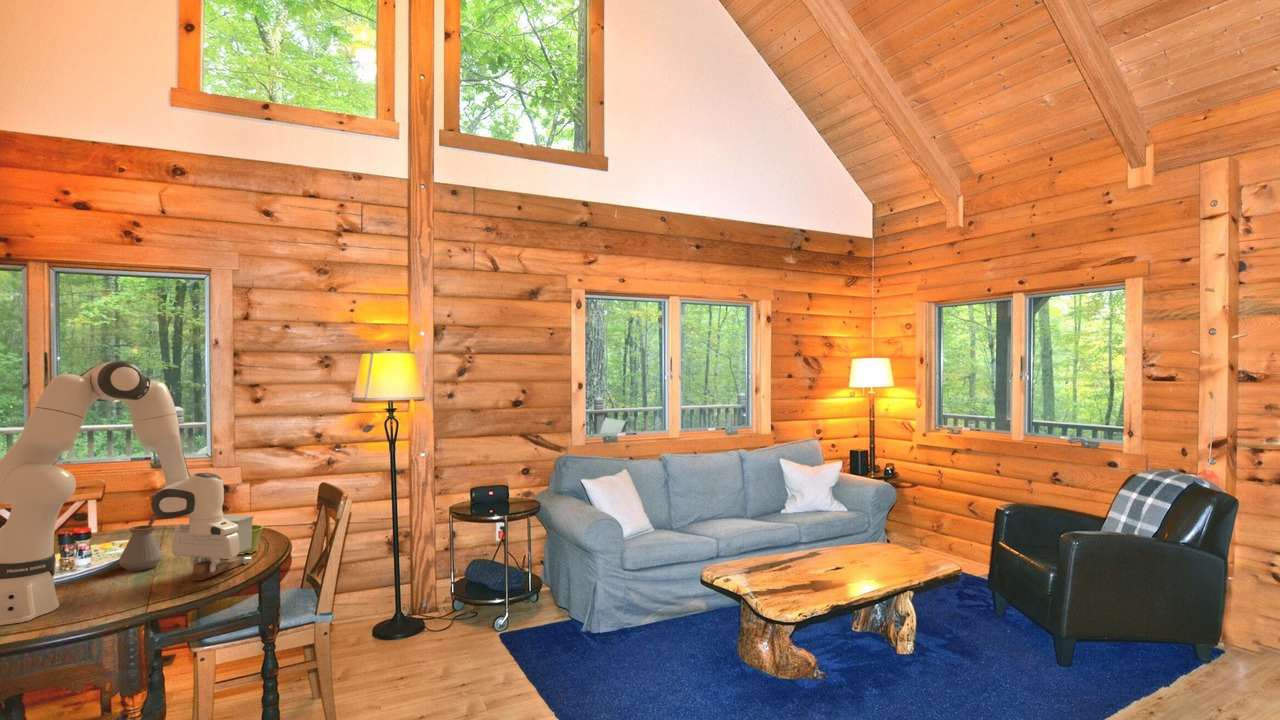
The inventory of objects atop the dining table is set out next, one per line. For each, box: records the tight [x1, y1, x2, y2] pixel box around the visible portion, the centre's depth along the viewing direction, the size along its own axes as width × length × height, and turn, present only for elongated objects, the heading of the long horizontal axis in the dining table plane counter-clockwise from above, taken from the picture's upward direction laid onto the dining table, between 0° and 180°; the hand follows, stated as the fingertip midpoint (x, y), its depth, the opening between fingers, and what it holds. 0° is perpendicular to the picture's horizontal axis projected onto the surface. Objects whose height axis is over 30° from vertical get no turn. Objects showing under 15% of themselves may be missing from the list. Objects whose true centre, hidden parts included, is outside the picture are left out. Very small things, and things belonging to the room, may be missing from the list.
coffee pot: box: [118, 513, 164, 572], centre depth 219 cm, size 21×12×15 cm, turn 21°
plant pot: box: [239, 524, 264, 554], centre depth 234 cm, size 9×9×9 cm
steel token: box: [234, 554, 253, 564], centre depth 221 cm, size 5×5×2 cm
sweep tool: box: [192, 557, 243, 581], centre depth 210 cm, size 18×3×4 cm, turn 173°
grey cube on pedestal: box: [200, 513, 254, 564], centre depth 214 cm, size 7×12×17 cm, turn 84°
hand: (204, 571), depth 204 cm, fingers closed on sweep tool, 3 cm apart
